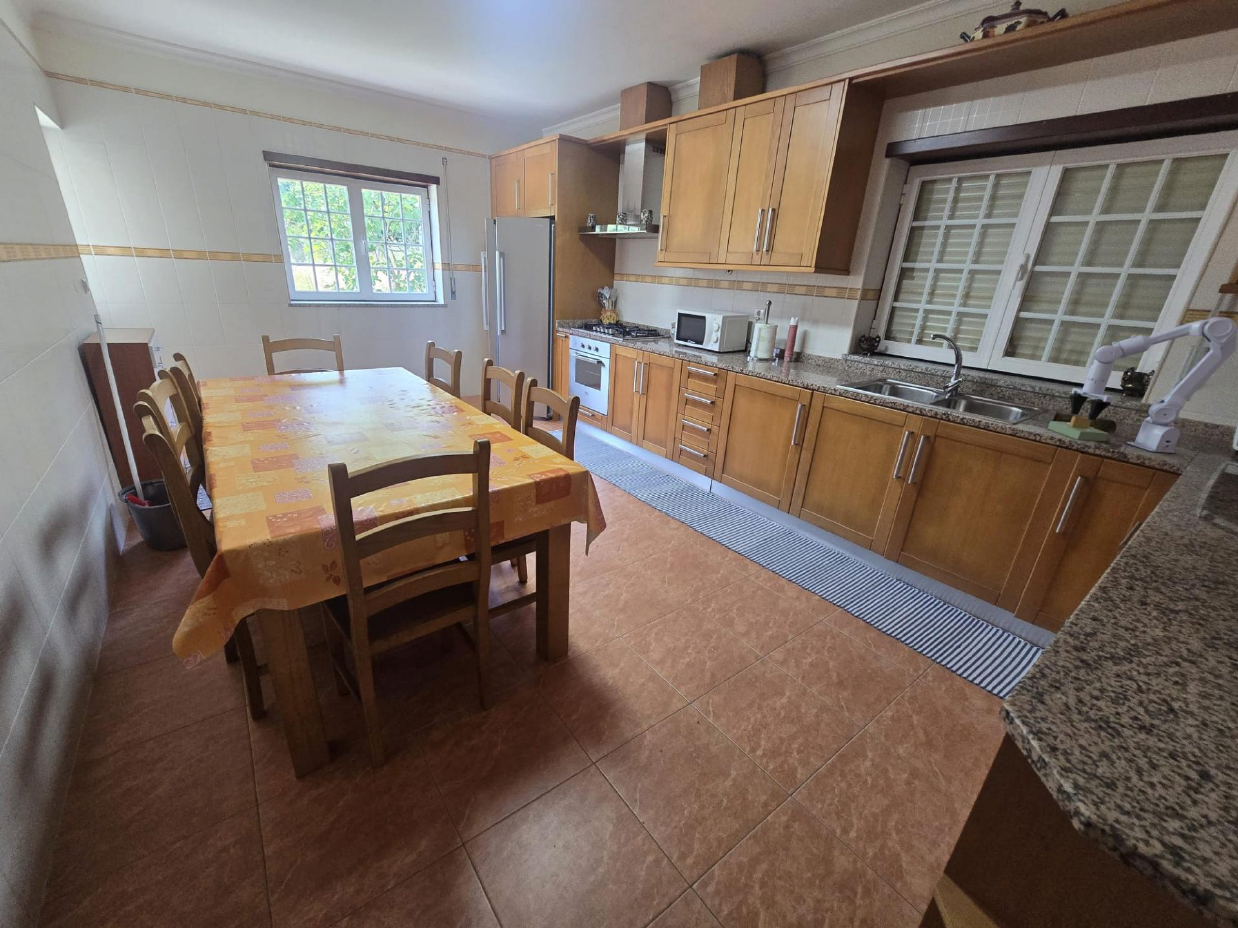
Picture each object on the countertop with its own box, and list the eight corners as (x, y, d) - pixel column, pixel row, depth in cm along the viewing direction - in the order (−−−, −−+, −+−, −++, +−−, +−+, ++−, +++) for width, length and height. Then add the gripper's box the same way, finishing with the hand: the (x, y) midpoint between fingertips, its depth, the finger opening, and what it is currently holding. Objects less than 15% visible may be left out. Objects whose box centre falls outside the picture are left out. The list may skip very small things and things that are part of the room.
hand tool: (1051, 421, 205) (1055, 410, 203) (1053, 420, 207) (1058, 409, 205) (1112, 434, 191) (1117, 422, 189) (1114, 432, 193) (1119, 420, 192)
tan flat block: (1085, 426, 185) (1089, 417, 184) (1088, 427, 184) (1092, 418, 183) (1068, 425, 185) (1072, 415, 184) (1071, 426, 184) (1075, 416, 183)
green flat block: (1106, 441, 179) (1109, 432, 178) (1077, 439, 179) (1080, 431, 178) (1073, 430, 192) (1077, 422, 191) (1047, 428, 192) (1050, 420, 191)
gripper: (1069, 375, 185) (1056, 411, 190) (1103, 383, 172) (1088, 421, 176) (1088, 376, 185) (1074, 412, 190) (1124, 384, 172) (1108, 422, 176)
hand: (1082, 417), depth 183 cm, fingers open, 7 cm apart
